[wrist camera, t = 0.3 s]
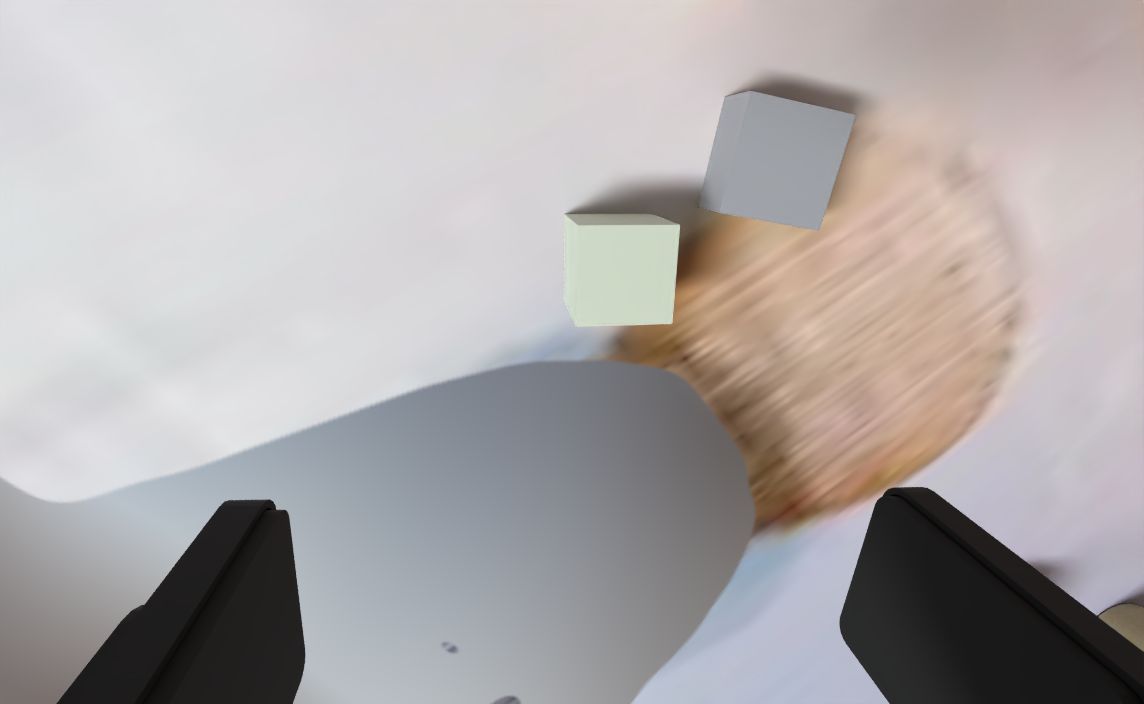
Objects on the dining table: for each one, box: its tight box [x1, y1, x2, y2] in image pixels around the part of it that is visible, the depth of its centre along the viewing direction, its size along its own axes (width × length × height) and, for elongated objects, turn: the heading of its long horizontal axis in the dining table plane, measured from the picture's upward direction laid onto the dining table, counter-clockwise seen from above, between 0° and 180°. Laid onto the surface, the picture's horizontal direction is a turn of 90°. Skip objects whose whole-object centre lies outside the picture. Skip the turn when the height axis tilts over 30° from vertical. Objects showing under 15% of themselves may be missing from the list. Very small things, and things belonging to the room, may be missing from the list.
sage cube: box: [564, 214, 680, 327], centre depth 35 cm, size 6×6×6 cm
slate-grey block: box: [698, 91, 856, 231], centre depth 35 cm, size 7×7×4 cm
